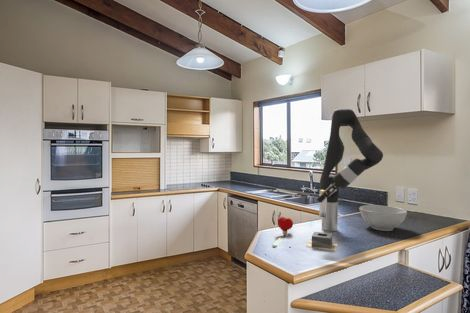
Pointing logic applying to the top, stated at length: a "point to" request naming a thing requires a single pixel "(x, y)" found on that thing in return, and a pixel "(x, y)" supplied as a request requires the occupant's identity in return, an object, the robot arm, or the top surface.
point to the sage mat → (277, 242)
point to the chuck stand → (322, 241)
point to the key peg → (323, 206)
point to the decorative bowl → (383, 216)
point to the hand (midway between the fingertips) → (319, 200)
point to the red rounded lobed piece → (285, 224)
